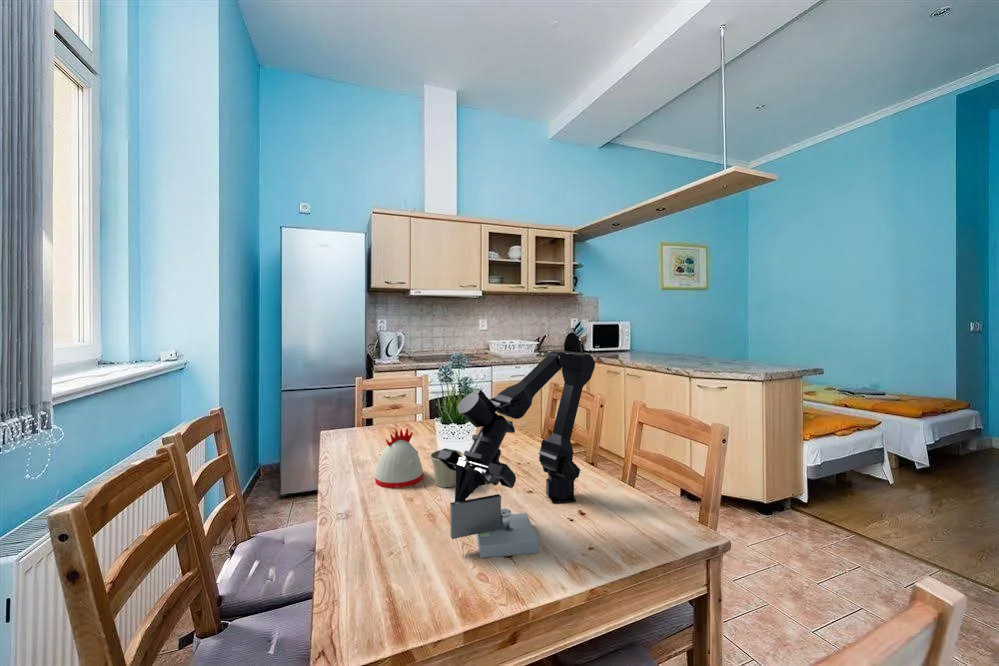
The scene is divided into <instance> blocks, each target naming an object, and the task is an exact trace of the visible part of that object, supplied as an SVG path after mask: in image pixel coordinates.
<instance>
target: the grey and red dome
mask: <svg viewBox="0 0 999 666" xmlns="http://www.w3.org/2000/svg"><path fill="white" fill-rule="evenodd" d="M389 437H390V439H391V440H390V441H389V440H388V439H387V438H385V442H386V444H387V445H386V447H385V448H384V449H383V451H382V452H381V454H380V456H379V459H378V462H377V464H376V468H375V474H374V477H375V478H374V481H375V484H376V485H377V487H381V488H384V489H403V487H404V488H409V487H411V486H412V487H413V486H414V485H417V484H419V483H420V482H421V481H422V480H423V478H424V473H423V472H424V471H423V466H422V462H421V458H420V456H419V451H418V450H416V448H415V447H414V446H413V445H412V444H411V443H410V441H411V439H412V437H413V431H410V433H409V429H408V428H406V429H405V432H403V430H402V429H401V428H399V432H398V430H397V429H395V431H394V436H393V434H391V433H390V434H389Z"/></svg>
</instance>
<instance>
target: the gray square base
mask: <svg viewBox="0 0 999 666" xmlns="http://www.w3.org/2000/svg"><path fill="white" fill-rule="evenodd" d="M475 536H476V540H477V546H478V552H479V558H480V559H483V558H495V557H497V558H498V557H507V556H517V555H528V554H529V555H530V554H539V553H540V541H539V538H538V535H537V534H536V530H535V529H534V526H533V525H532V522H531V520H530V518H529V516H528V513H527V512H522V513H521V512H520V513H519V512H518V513H511V515H510V527H509V528H508V529H502V528H501V529H497V530H492V531H488V532H483V533H479V534H475Z"/></svg>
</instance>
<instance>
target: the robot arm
mask: <svg viewBox="0 0 999 666" xmlns="http://www.w3.org/2000/svg"><path fill="white" fill-rule="evenodd" d="M595 367H596V361H595V360H594V357H593V356H592V354H590V353H582V352H581V353H580V352H569V353H566V352H564V351H558V350H552V351H548V353H547V354H546V355H545V357H544V358H543V359H542V360H541V361H540V362H539V363H538V364H537V365H536V366H535V367H533V368H532V370H530V372H529V373H527V374H526V375H525V376H524V377H523V378H522V379H521V380H520V381H519V382H517V383H516V384H513V385H510V386H508V387H506V388H505V389H503V390H501V391H500V392H499V393H498V394H497V395H496V396H495V397H492V398H488V396H486V393H485V392H484V391H483V390H482V389H479V388H476V389H475V390H474V391H473V392H471V393H469V394H467V395H466V396H465V397H463V398H462V399H461V400H460V402H459V404H458V406H457V412H458V413H459V414H461V416H463V417H464V418H465V419H466V420H467V421H468V422H469V423H470V424H472V425H473V427H475V428H480V429H479V431H478V434H473V435H472V437H471V440H472V441H473V444H472V445H471V447H470V449H469V450H465V451H464V452H463V456H464V457H465V458H464V457H463V456H462V457H461V456H460V455H459V454H458V453H457V452H456V451H454V450H455V449H453V450H450V448H447V447H445V448H441V449H440V450H441V451H440V453H439V455H438V456H437V458H438V459H439V460H440V461H441V462H442V463H443V464H444V465H445V466H446V467H447V468H448V469H450V470H453V471H456V485H455V492H454V502H458V501H464V500H467V499H468V498H469V497H470V496H471V494H473V492H475V491H476V490H477V489H478V488H480V487H482V486H485V485H487V486H489V485H490V484H492V485H493V486H498V484H499V483H500V485H501V486H502V487H506V488H508V489H509V488H510V489H513V488H514V486H515V484H516V481H517V477H516V474H515V473H514V471H513V470H512V469H511V467H510V466H509V465H508V464H507V463H502V462H500V456H501V454H502V451H501V449H500V447H501V445H502V443H503V441H504V439H505V436H506V434H507V433H511V434H515V432H516V429H515V426H514V424H513V421H512V420H508V419H506V417H508V418H511V419H514V420H519V419H522V418H523V417H524V416H525V414H526V413H527V411H528V410H529V409H530V407H531V406H532V404H533V399H534V397H535V396H536V394H537V393H538V392H540V391H541V389H542V388H543V387H544V386H545V385H546V384H547V383H548V382H549V381H550V380H551V379H552V378H553V377H554V376H555V375H556V374H557V373H558V372H559V371H560V370H561V374H562V379H563V381H564V383H563V384H564V385H563V388H562V393H561V397H560V400H559V405H558V408H557V412H556V413H557V414H556V416H555V420H554V421H555V422H554V425H553V429H552V433H551V435H550V436H549V437H548V438H547V439H544V438H543V439H542V441H541V443H540V445H541V446H540V450H539V452H538V453H537V454H538V455H539V457H538V461H539V463H540V466H542V470H543V473H547V478H546V480H545V483H546V484H545V488H546V489H545V491H546V492H545V494H546V495H547V497H548V498H549V500H550V501H551V503H552V504H557V503H559V504H561V503H562V504H563V503H574V502H577V498H576V497H575V481H576V479H577V478H579V476H580V473H581V469H580V467H579V466H578V465H577V464H576V463H575V462H574V461H573V459H574V449H573V445H572V442H571V439H572V434H573V429H574V426H575V423H576V418H577V414H578V413H577V412H578V410H579V409H578V408H579V404H580V400H581V396H582V392H583V388H584V386H585V385H587V383H588V382H589V381H590V380H591V379H592V376H593V374H594V370H595Z"/></svg>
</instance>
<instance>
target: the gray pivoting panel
mask: <svg viewBox="0 0 999 666" xmlns="http://www.w3.org/2000/svg"><path fill="white" fill-rule="evenodd" d="M449 504H450V505H449V511H450V512H449V513H450V516H449V517H450V521H449V522H450V528H449V531H450V534H449V535H450V538H451V540H455V539H456V540H457V539H460V538H465V537H469V536H473V535H476V534H479V533H483V532H488V531H492V530H497V529H501V528H502V529H508V528H509V527H510V515H511V514H512V510H510V509H509V508H502V496H501V495H500V494H499V493H498V494H491V495H486V496H481V497H475V498H470V499H466V500H464V501H458V502H455V501H454V502H453V501H452V502H450V503H449Z"/></svg>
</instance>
